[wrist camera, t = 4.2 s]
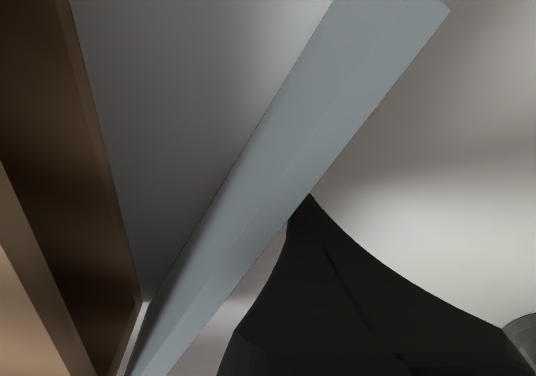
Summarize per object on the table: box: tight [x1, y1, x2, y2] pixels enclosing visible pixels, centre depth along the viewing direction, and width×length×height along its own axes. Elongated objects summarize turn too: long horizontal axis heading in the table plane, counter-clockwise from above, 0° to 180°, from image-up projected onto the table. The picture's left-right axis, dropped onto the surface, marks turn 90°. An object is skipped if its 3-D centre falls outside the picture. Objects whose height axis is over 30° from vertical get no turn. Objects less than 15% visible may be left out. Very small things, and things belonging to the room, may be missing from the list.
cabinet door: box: [124, 0, 451, 376], centre depth 11 cm, size 18×2×6 cm, turn 149°
